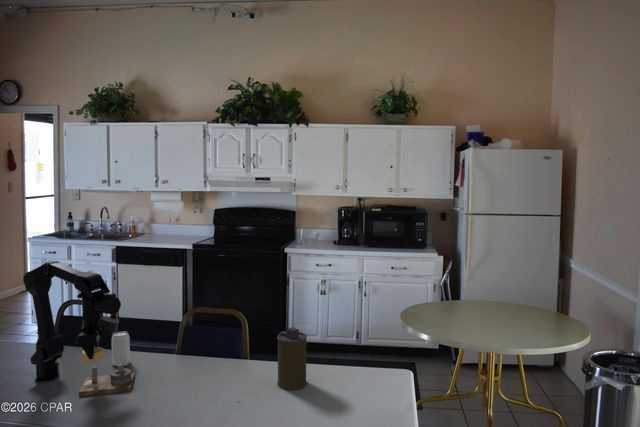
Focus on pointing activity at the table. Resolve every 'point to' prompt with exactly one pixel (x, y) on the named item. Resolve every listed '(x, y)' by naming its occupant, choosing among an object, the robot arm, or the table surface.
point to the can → (120, 348)
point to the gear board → (108, 382)
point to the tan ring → (96, 357)
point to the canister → (291, 359)
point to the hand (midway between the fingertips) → (93, 355)
